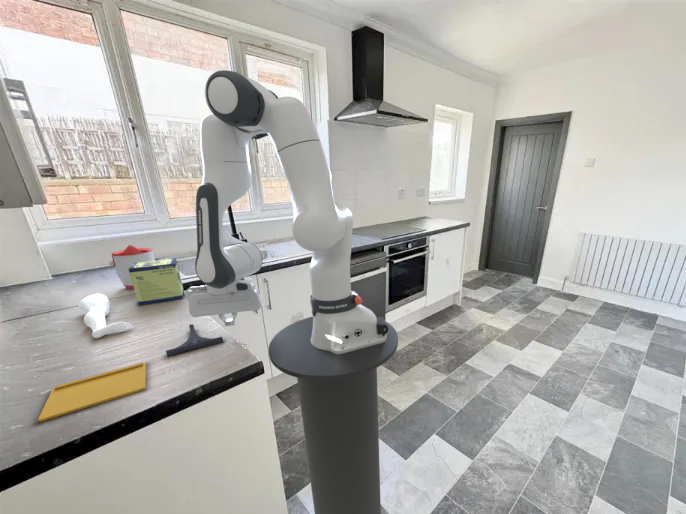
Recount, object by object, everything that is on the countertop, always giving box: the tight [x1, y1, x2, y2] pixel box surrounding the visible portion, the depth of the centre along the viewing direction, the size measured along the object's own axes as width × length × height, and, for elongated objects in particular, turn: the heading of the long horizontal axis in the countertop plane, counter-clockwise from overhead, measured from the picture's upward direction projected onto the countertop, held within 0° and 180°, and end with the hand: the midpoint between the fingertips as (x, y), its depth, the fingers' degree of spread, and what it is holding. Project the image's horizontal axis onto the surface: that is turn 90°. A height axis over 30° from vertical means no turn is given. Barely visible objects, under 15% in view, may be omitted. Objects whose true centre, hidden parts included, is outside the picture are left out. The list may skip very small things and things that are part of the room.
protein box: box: [128, 258, 185, 306], centre depth 129 cm, size 10×16×16 cm
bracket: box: [165, 324, 224, 357], centre depth 96 cm, size 14×15×3 cm
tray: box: [37, 362, 147, 423], centre depth 73 cm, size 18×13×1 cm
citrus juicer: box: [108, 244, 156, 291], centre depth 144 cm, size 16×17×20 cm
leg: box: [77, 293, 134, 339], centre depth 110 cm, size 7×35×10 cm
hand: (230, 325), depth 98 cm, fingers closed
